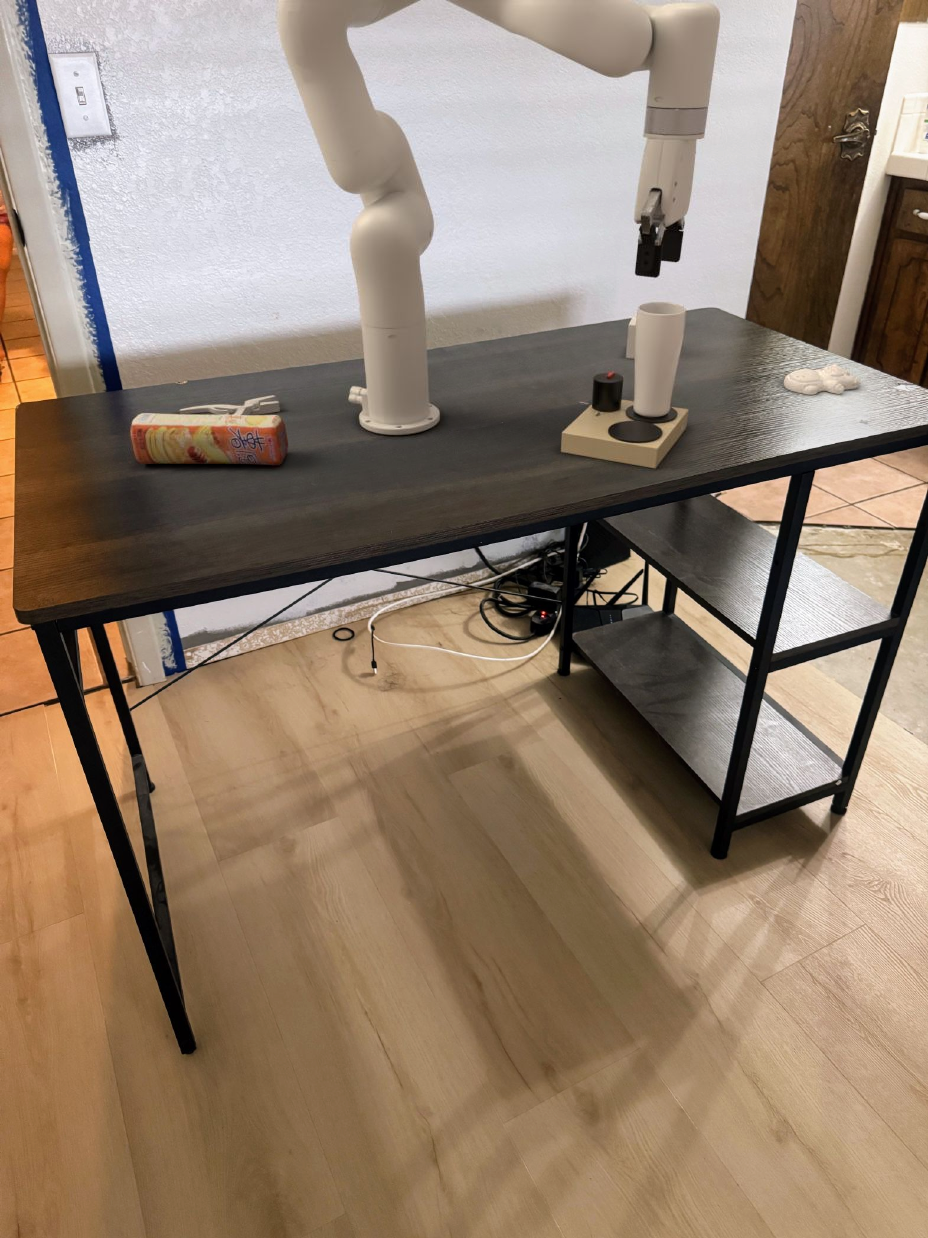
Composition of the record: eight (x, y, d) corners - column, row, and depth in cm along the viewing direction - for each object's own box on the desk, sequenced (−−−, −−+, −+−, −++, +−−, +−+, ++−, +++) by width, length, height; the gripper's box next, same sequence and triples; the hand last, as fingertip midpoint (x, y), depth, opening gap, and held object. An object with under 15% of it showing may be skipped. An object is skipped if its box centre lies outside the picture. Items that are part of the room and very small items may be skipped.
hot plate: (549, 449, 127) (549, 429, 125) (588, 412, 139) (589, 392, 137) (655, 468, 121) (657, 447, 119) (686, 427, 133) (689, 407, 131)
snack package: (291, 451, 129) (285, 406, 125) (281, 470, 123) (274, 424, 120) (150, 450, 130) (139, 406, 126) (134, 469, 124) (122, 424, 121)
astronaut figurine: (865, 394, 143) (869, 375, 141) (791, 395, 143) (795, 377, 141) (845, 376, 150) (849, 358, 148) (775, 377, 150) (778, 360, 149)
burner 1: (618, 418, 128) (618, 416, 128) (634, 401, 134) (634, 399, 134) (669, 426, 125) (669, 424, 125) (683, 409, 131) (683, 407, 131)
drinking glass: (672, 403, 132) (684, 301, 124) (676, 420, 126) (689, 314, 118) (626, 403, 133) (635, 301, 124) (629, 420, 127) (638, 314, 119)
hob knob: (615, 413, 130) (617, 382, 127) (587, 409, 132) (589, 378, 129) (625, 404, 133) (627, 373, 130) (597, 399, 135) (599, 369, 132)
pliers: (178, 403, 141) (269, 389, 146) (180, 413, 142) (270, 398, 147) (188, 424, 134) (284, 408, 139) (190, 434, 135) (285, 417, 140)
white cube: (630, 348, 166) (632, 315, 162) (662, 350, 164) (665, 317, 161) (625, 357, 161) (628, 324, 157) (658, 360, 159) (662, 326, 156)
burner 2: (600, 437, 123) (600, 435, 123) (618, 419, 128) (618, 417, 128) (653, 446, 120) (653, 444, 120) (668, 427, 125) (669, 425, 125)
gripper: (665, 116, 117) (649, 252, 126) (623, 128, 104) (610, 279, 114) (721, 118, 114) (701, 258, 123) (686, 131, 101) (666, 285, 111)
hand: (657, 268), depth 119 cm, fingers open, 9 cm apart
